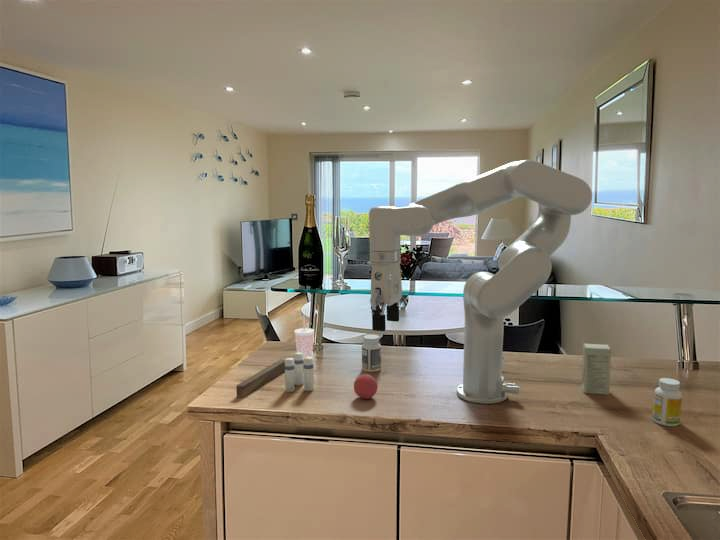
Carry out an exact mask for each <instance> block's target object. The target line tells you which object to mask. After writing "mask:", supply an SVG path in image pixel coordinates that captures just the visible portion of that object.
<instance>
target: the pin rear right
mask: <svg viewBox="0 0 720 540" xmlns="http://www.w3.org/2000/svg"><path fill="white" fill-rule="evenodd" d="M293 359H294V381H295V386H298V387H299V386H304V361H303V353H301V352H297V351H296V352H294V353H293Z"/></svg>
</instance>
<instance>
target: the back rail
mask: <svg viewBox="0 0 720 540" xmlns="http://www.w3.org/2000/svg"><path fill="white" fill-rule="evenodd" d="M282 373H285V359H279V360H277V361H275V362H273V363H271V364H270V365H268V366H266V367H265V368H264V369H262V370H260V371H258V372H256V373H254V374H252V375H251V376H250V377H248V378H246V379H245V380H243V381H241V382H240V383H238V384H236V389H235V390H236V397H237V398H245V397H247V396H249V395H250V394H252V393H253V392H255V391H256V390H258V389H259V388H261V387H262V386H264V385H266V384H267V383H268V382H270V381H272V380H273V379H275V378H276V377H278V376H279V375H281V374H282Z"/></svg>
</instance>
